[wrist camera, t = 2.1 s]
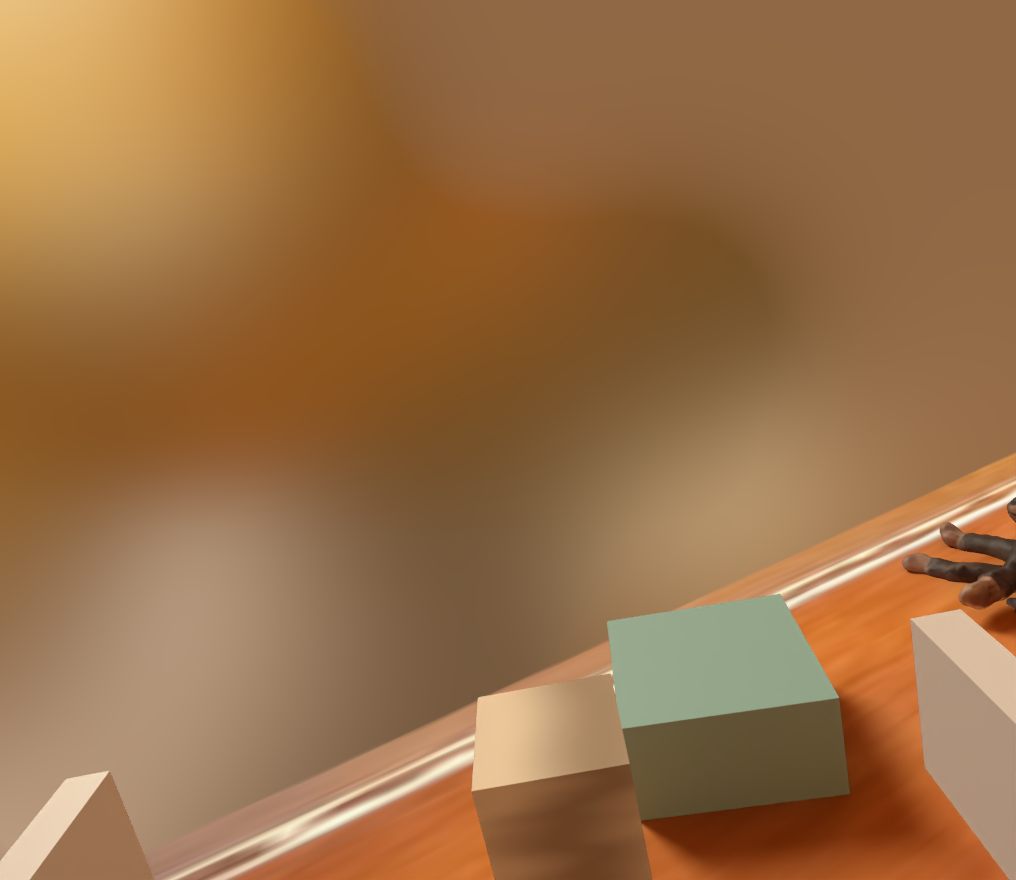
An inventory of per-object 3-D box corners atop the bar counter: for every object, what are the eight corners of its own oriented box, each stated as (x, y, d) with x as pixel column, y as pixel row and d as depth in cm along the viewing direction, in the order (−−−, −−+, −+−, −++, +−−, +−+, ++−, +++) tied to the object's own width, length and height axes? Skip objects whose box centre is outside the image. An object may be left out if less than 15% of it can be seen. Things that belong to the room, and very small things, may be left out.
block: (546, 1075, 25) (471, 790, 22) (541, 949, 30) (478, 697, 27) (686, 1053, 25) (629, 763, 22) (661, 930, 29) (610, 673, 26)
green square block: (639, 825, 35) (619, 729, 33) (623, 702, 43) (607, 621, 42) (850, 798, 34) (839, 697, 32) (790, 677, 42) (780, 593, 41)
